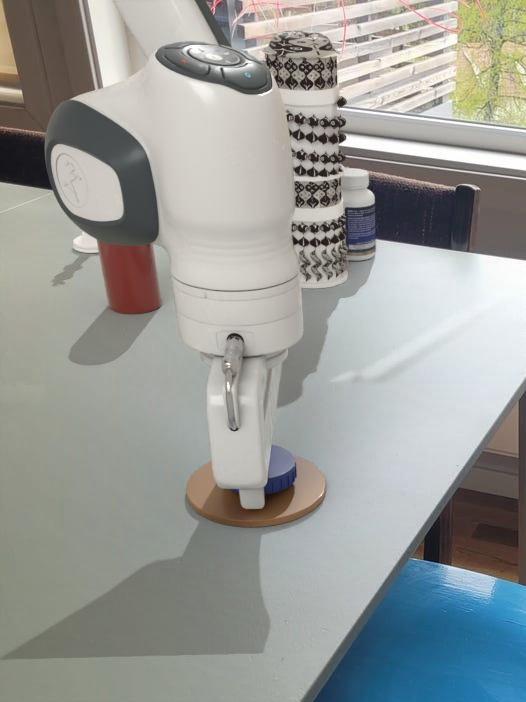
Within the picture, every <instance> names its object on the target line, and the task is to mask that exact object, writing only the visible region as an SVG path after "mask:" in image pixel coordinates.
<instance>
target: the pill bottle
mask: <svg viewBox="0 0 526 702" xmlns="http://www.w3.org/2000/svg"><path fill="white" fill-rule="evenodd" d="M369 175H370V173H369V171H367V170H366V169H362V168H353V167H352V168H350V167H349V168H348V167H347V168H344V175H342V176H341V197H342V198H343V213H344V214H345V216H346V218H347V221H346V222H345V225H344V226H343V227H344V228H345V230H346V231H347V235H346V238H345V239H344V240H343V241H344V242H345V243H346V246H347V247H348V251H347V252H346V253H347V255H346V258H347V260H348V261H354V262H359V261H361V262H362V261H366V260H369V259H372V258H373V257H375V255H376V252H377V251H376V250H377V245H376V244H377V242H376V241H377V240H376V197H375V193H374V192H373V191H371V190H370V189H368V187H369V186H370V176H369Z"/></svg>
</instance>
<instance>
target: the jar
mask: <svg viewBox="0 0 526 702" xmlns="http://www.w3.org/2000/svg"><path fill="white" fill-rule="evenodd" d="M96 240H97V239H96ZM97 246H98V251H99V253H98V256H99V262H100V266H101V273H102V278H103V283H104V289H105V293H106V300H107V306H108V308H109V309H110V310H111V311H113V312H115V313H119V314H125V315H126V314H128V315H136V314H138V315H139V314H145V313H150V312H154V311H156V310H158V309H159V308H160V307H161V306H162V304H163V302H162V295H161V289H160V281H159V276H158V268H157V262H156V255H155V250H154V249H155V248H154V244H148V245H143V246H122V245H112V244H107V243H103V242H101V241H99V240H97Z"/></svg>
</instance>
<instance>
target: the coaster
mask: <svg viewBox="0 0 526 702" xmlns="http://www.w3.org/2000/svg"><path fill="white" fill-rule="evenodd" d="M292 455H293V456H294V458H295V462H296V470H297V478H295V482H293V484H292V485H291V486H290V487H288V488H286V489H284V490H282V491H279V492H276V493H271V494H265V495H266V496H265V505H264V507H263V508H261V509H245V508H243V507H242V506H241V502H240V494H239V493H238V492H235V491H232V490H230V489H223V488H220V487H218V485H217V484H216V482H215V479H214V476H213V470H212V461H211V460H210V461H209V462H207V463H205V464H203V465H201V466H200V467H199V468H198V469H196V470H195V471H194V472H193V473H192V474H191V475H190V477H189V478H188V481H187V483H186V487H185V491H186V498H187V502H188V504H189V506H190V507H191V508H192V509H193V511H195V512H196V514H198V515H199V516H201V517H203V518H205V519H207V520H209V521H212V522H214V523H218V524H221V525H226V526H231V527H238V528H239V527H240V528H264V527H271V526H277V525H282V524H285V523H289V522H292V521H295V520H298V519H300V518H302V517H304V516H306V515H308V514H309V513H311V512H313V511H314V510H315V509H316V508H317V507H318V506H319V505H321V503H322V501H323V500H324V498H325V496H326V493H327V492H326V491H327V483H326V477H325V475H324V474H323V472H322V471H321V469H320V468H319V467H318V466H317V465H315V464H314V463H312V462H311V461H309V460H307V459H305V458H302V457H300V456H296V455H294V454H292Z"/></svg>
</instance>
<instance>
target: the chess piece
mask: <svg viewBox="0 0 526 702" xmlns="http://www.w3.org/2000/svg"><path fill="white" fill-rule="evenodd" d="M72 244H73V245H72V248H73V249H74V250H75V251H76V252H80V253H86V254H99V251H98V246H97V240H96V239H95V238H93V237H92V236H90V235H88V234H87V233H86V232H84V231H83V230H82V232H81V235H79V236H77V237H74V239H73V240H72Z"/></svg>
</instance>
